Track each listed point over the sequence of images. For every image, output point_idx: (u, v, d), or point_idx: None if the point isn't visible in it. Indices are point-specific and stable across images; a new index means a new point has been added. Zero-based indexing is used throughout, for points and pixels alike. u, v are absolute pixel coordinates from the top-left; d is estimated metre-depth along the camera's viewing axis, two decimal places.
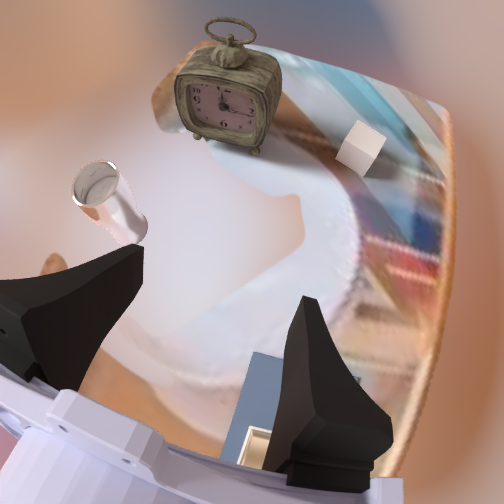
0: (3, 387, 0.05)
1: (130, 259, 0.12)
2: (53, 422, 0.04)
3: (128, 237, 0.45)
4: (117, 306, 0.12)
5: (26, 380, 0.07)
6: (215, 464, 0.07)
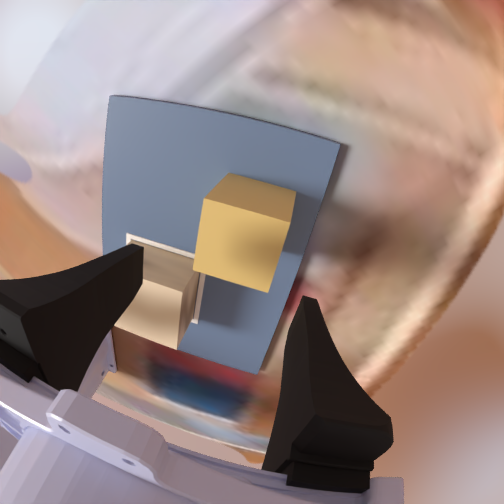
0: (3, 387, 0.05)
1: (130, 259, 0.12)
2: (53, 422, 0.04)
3: None
4: (117, 306, 0.12)
5: (26, 380, 0.07)
6: (215, 464, 0.07)
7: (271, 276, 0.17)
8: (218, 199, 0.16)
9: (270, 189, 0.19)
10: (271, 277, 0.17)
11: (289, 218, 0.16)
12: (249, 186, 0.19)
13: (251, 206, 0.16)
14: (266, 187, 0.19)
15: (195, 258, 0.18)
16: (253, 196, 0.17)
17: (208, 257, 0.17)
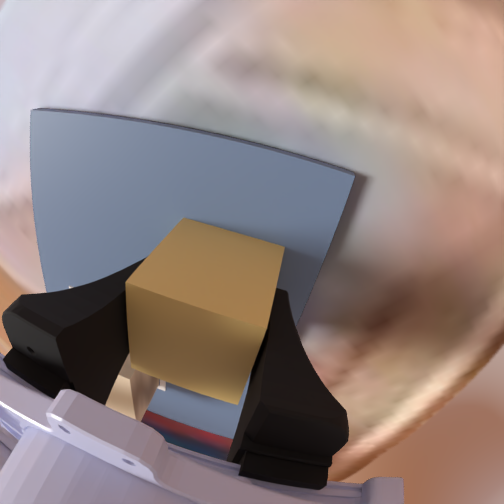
0: (3, 387, 0.05)
1: None
2: (53, 422, 0.04)
3: None
4: None
5: None
6: (214, 464, 0.07)
7: (240, 389, 0.11)
8: (148, 284, 0.09)
9: (244, 248, 0.12)
10: (241, 390, 0.11)
11: (266, 316, 0.09)
12: (209, 245, 0.12)
13: (203, 294, 0.10)
14: (237, 245, 0.13)
15: (131, 356, 0.11)
16: (211, 267, 0.11)
17: (148, 357, 0.11)
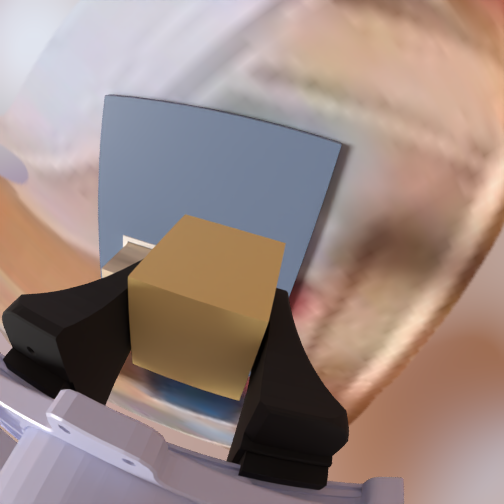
0: (3, 387, 0.05)
1: None
2: (53, 422, 0.04)
3: None
4: None
5: None
6: (215, 464, 0.07)
7: (242, 384, 0.11)
8: (150, 279, 0.09)
9: (245, 244, 0.13)
10: (242, 385, 0.11)
11: (268, 311, 0.09)
12: (211, 241, 0.12)
13: (205, 289, 0.10)
14: (239, 241, 0.13)
15: (133, 351, 0.11)
16: (213, 262, 0.11)
17: (149, 353, 0.11)
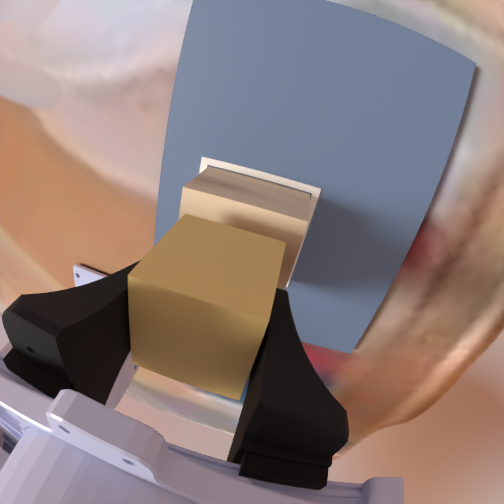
0: (3, 387, 0.05)
1: None
2: (53, 422, 0.04)
3: None
4: None
5: None
6: (214, 464, 0.07)
7: (242, 384, 0.11)
8: (150, 277, 0.09)
9: (245, 243, 0.13)
10: (242, 385, 0.11)
11: (268, 309, 0.09)
12: (211, 240, 0.12)
13: (206, 287, 0.10)
14: (239, 240, 0.13)
15: (132, 351, 0.11)
16: (213, 261, 0.11)
17: (149, 352, 0.11)
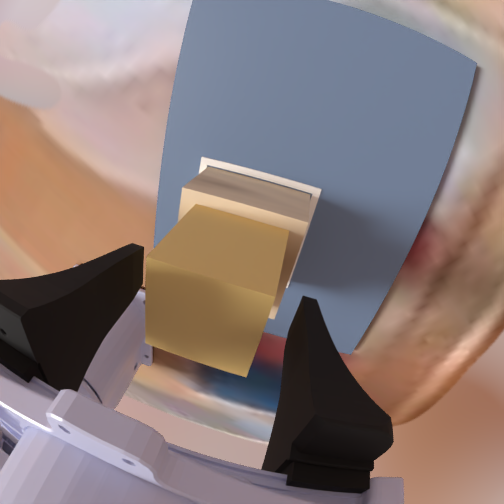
0: (3, 387, 0.05)
1: (130, 259, 0.12)
2: (53, 422, 0.04)
3: None
4: (117, 306, 0.12)
5: (26, 380, 0.07)
6: (214, 464, 0.07)
7: (250, 360, 0.12)
8: (167, 259, 0.10)
9: (252, 230, 0.14)
10: (250, 361, 0.12)
11: (274, 287, 0.11)
12: (221, 227, 0.13)
13: (218, 267, 0.11)
14: (246, 227, 0.14)
15: (146, 331, 0.12)
16: (223, 245, 0.12)
17: (163, 331, 0.12)
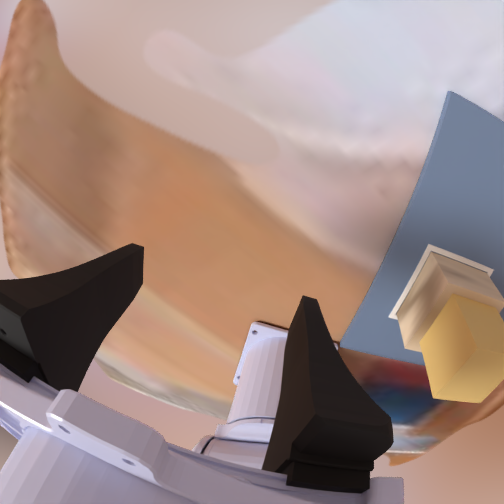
0: (3, 387, 0.05)
1: (130, 259, 0.12)
2: (53, 422, 0.04)
3: None
4: (117, 306, 0.12)
5: (26, 380, 0.07)
6: (215, 464, 0.07)
7: (489, 392, 0.14)
8: (484, 346, 0.13)
9: (487, 312, 0.16)
10: (489, 393, 0.14)
11: None
12: (478, 313, 0.16)
13: (500, 346, 0.13)
14: (484, 311, 0.16)
15: (441, 390, 0.15)
16: (489, 329, 0.15)
17: (453, 388, 0.15)
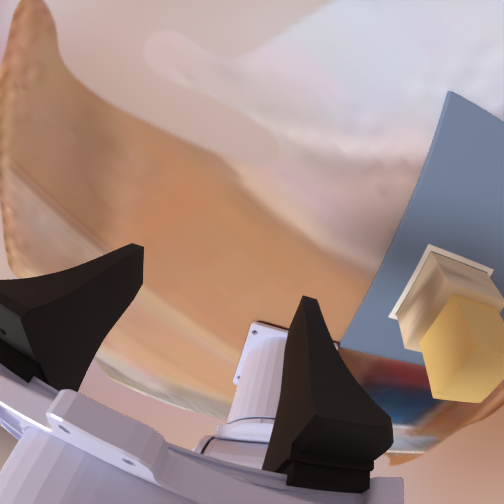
0: (3, 387, 0.05)
1: (130, 259, 0.12)
2: (53, 422, 0.04)
3: None
4: (117, 306, 0.12)
5: (26, 380, 0.07)
6: (214, 464, 0.07)
7: (489, 392, 0.14)
8: (484, 346, 0.13)
9: (487, 312, 0.16)
10: (489, 393, 0.14)
11: None
12: (478, 313, 0.16)
13: (500, 346, 0.13)
14: (484, 311, 0.16)
15: (441, 390, 0.15)
16: (489, 329, 0.15)
17: (453, 388, 0.15)
